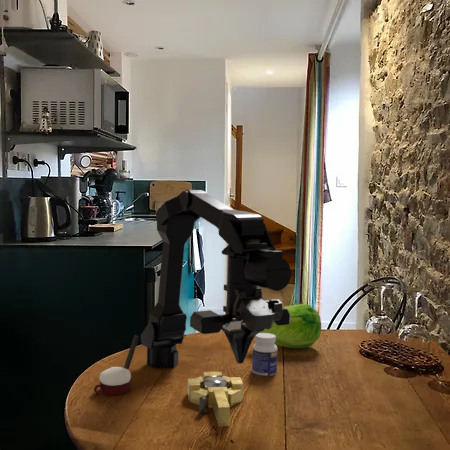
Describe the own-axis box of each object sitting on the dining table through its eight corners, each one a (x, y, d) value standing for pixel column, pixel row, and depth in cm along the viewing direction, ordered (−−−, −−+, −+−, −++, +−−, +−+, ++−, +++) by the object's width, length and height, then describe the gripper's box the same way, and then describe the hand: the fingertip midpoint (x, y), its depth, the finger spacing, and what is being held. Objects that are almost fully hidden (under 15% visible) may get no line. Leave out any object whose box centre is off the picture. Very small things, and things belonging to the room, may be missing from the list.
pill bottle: (275, 383, 119) (276, 339, 119) (250, 380, 120) (251, 337, 120) (277, 374, 125) (279, 332, 124) (253, 372, 126) (254, 330, 125)
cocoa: (94, 406, 105) (92, 348, 104) (93, 393, 111) (91, 338, 110) (142, 400, 108) (141, 343, 107) (139, 387, 114) (137, 333, 113)
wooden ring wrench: (186, 387, 112) (186, 371, 112) (237, 385, 113) (237, 369, 113) (193, 427, 93) (193, 408, 93) (253, 425, 95) (254, 406, 94)
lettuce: (241, 342, 150) (242, 300, 149) (308, 339, 155) (309, 298, 154) (257, 358, 136) (258, 312, 135) (329, 354, 141) (330, 309, 141)
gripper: (216, 293, 88) (214, 385, 89) (309, 286, 96) (305, 370, 97) (189, 281, 97) (187, 364, 99) (275, 275, 106) (272, 352, 107)
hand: (239, 363), depth 100 cm, fingers closed
